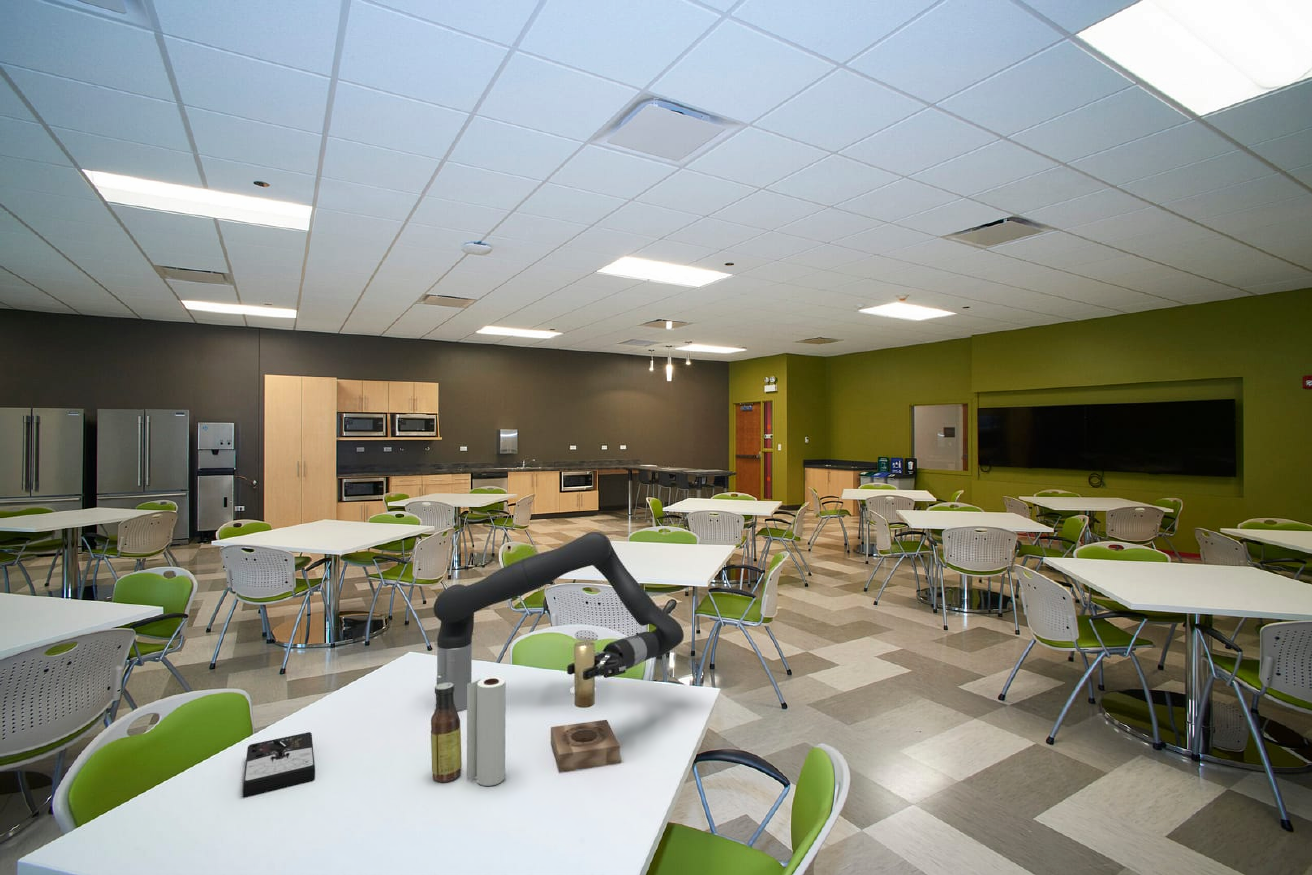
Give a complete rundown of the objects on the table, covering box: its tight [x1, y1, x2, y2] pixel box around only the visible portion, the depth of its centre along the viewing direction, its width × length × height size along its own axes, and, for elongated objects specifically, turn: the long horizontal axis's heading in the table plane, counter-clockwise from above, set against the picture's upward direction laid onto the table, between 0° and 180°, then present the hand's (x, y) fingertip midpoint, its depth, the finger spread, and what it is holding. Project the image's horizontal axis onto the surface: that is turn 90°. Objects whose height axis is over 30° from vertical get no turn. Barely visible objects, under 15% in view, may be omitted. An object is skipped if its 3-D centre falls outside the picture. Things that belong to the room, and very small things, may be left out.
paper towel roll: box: [466, 676, 507, 787], centre depth 135 cm, size 7×6×21 cm
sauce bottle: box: [430, 683, 463, 783], centre depth 136 cm, size 6×6×20 cm
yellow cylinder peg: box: [573, 640, 596, 709], centre depth 146 cm, size 5×5×14 cm
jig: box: [550, 719, 621, 774], centre depth 146 cm, size 14×14×4 cm
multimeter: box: [242, 731, 316, 798], centre depth 139 cm, size 13×19×5 cm
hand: (576, 672), depth 144 cm, fingers closed on yellow cylinder peg, 4 cm apart
